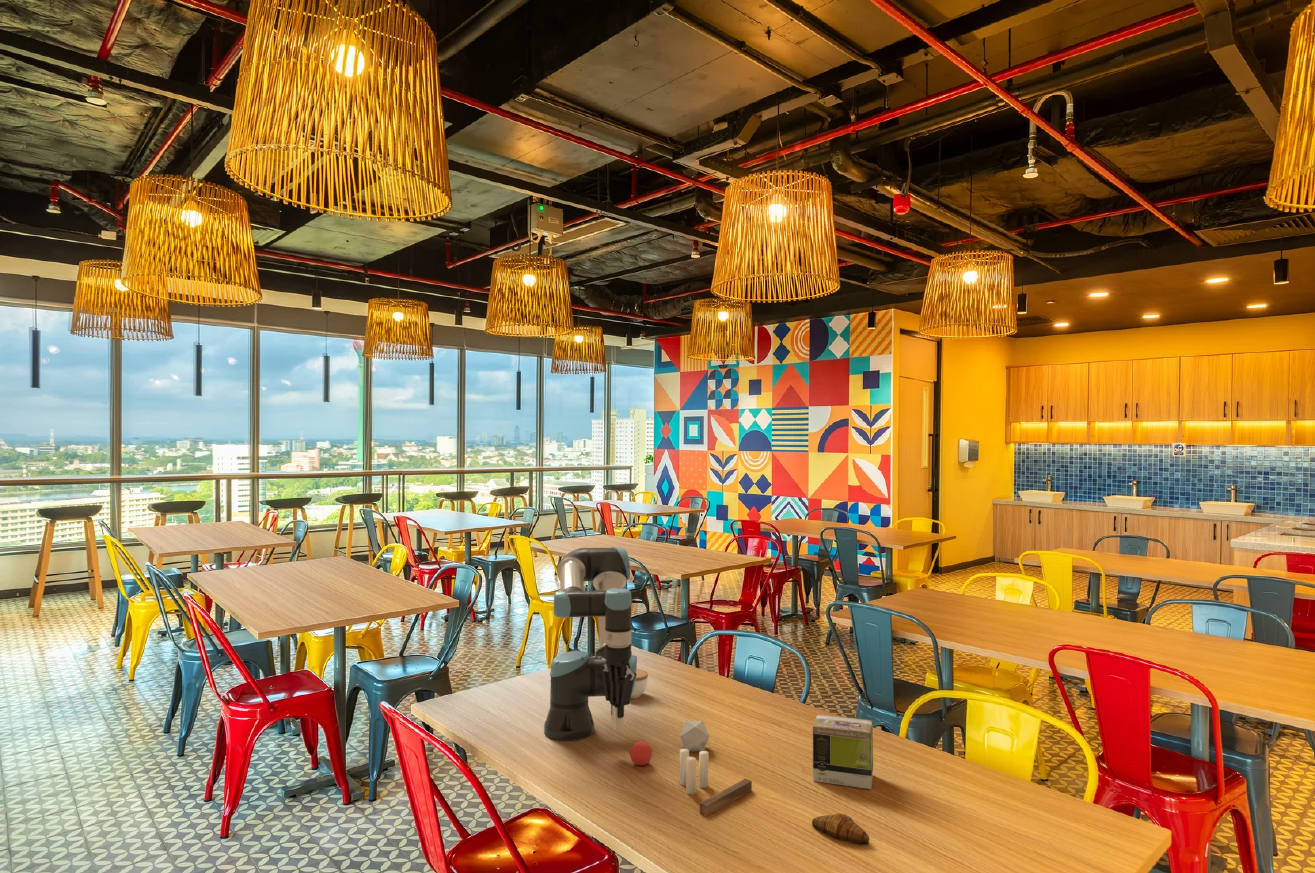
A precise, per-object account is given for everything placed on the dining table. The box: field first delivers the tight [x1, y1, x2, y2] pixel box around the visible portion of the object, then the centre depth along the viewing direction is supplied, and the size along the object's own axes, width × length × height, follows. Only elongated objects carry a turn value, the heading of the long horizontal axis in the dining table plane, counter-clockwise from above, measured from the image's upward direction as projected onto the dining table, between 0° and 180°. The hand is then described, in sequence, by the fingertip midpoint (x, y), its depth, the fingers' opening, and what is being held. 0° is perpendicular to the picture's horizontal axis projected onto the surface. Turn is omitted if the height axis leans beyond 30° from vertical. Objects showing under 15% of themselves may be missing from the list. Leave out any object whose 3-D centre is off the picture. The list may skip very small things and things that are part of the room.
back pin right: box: [685, 756, 697, 795], centre depth 186 cm, size 2×2×8 cm
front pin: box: [679, 748, 690, 786], centre depth 191 cm, size 2×2×8 cm
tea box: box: [812, 713, 874, 790], centre depth 195 cm, size 15×10×15 cm, turn 71°
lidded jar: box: [631, 668, 649, 699], centre depth 257 cm, size 11×11×9 cm
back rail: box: [699, 778, 753, 817], centre depth 181 cm, size 2×18×2 cm, turn 136°
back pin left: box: [698, 750, 709, 789], centre depth 190 cm, size 2×2×8 cm
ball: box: [629, 741, 653, 766], centre depth 202 cm, size 6×6×6 cm
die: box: [679, 720, 710, 752], centre depth 212 cm, size 8×9×10 cm
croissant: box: [811, 813, 870, 845], centre depth 166 cm, size 14×7×5 cm, turn 53°
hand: (617, 728), depth 208 cm, fingers closed
